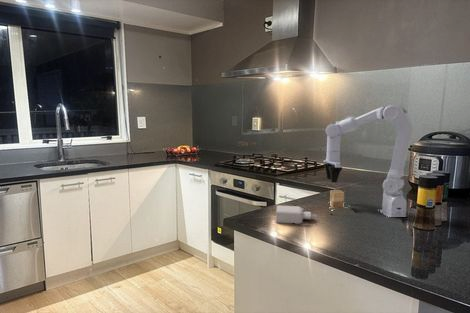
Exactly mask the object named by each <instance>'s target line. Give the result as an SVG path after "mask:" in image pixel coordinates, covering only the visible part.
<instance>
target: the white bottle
mask: <svg viewBox="0 0 470 313" xmlns="http://www.w3.org/2000/svg"><path fill="white" fill-rule="evenodd" d="M275 214H276V215H275V216H276V217H275V219H276V220H275V223H278V224H292V223H295V225H301V224H302V223H303V220H311V219H312V217H313V218H317V214H313V213H311V211H303V207H301V206H298V205H296V206H294V205H280V204H279V205H276V213H275ZM300 223H301V224H300Z"/></svg>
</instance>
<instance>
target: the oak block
mask: <svg viewBox="0 0 470 313" xmlns="http://www.w3.org/2000/svg"><path fill="white" fill-rule="evenodd" d="M329 194H330V195H329V196H330V197H329V203H330V206H331V207H344V203H345V192H344V191H343V190H341V189H340V190H339V189H333V190H332V189H331V190H330V192H329Z"/></svg>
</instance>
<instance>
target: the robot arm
mask: <svg viewBox="0 0 470 313" xmlns="http://www.w3.org/2000/svg"><path fill="white" fill-rule="evenodd" d="M377 119H380V120H386V121H387V122H388V123H391V124H392V125H393V126H394V127H395V129H397V134H396V139H395V143H394V149H393V153H392V158H391V163H390V168H389V170H388V173H387V175H386V179H384V181H383V182H382V189H383V191H382V192H383V193H382V205H381V206H382V208H381V209H377V211H378V212H379V210H380V212H379V213H381V214H382V213H383V214H382V215H384V216H385V215H386V216H385V217H387V216H388V217H387V218H389V217H406V216H407V206H408V205H407V204H408V203H407V200H406V198H405V196H404V191H403V190H402V189H403V187H405V180H404V175H405V172H404V169H405V165H406V161H407V156H408V151H409V147H410V144H411V138H412V136H413V135H412V134H413V130H414V124H413V122H412V120H411V118H410V115H409V112H408V111H407V109H405V108H404V107H403V106H402V105H400V104H389V105H387V106H382V107H379V108H376V109H374V110H371V111H369V112H367V113H364V114H362V115H359V116H357V117H354V116H345V118H344V119H342V120H340V121H339V120H337V121H335V123H330V124H328V125H327V126H326V128H325V134H326V135H327V137H326V138H327V140H326V158H325V160H324V159H323V167H324V169H325V174H326V178H327V180H330V181H331V183H338V179H339V176H340V173H341V171H342V170H343V167H342V166H341V161H340V157H341V156H340V155H341V136H342V135H344V134H347V133H350V132H353V131H355V130H358V127H359V126H360V125H362V124H365V123H369V122H371V121H374V120H377Z"/></svg>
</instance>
